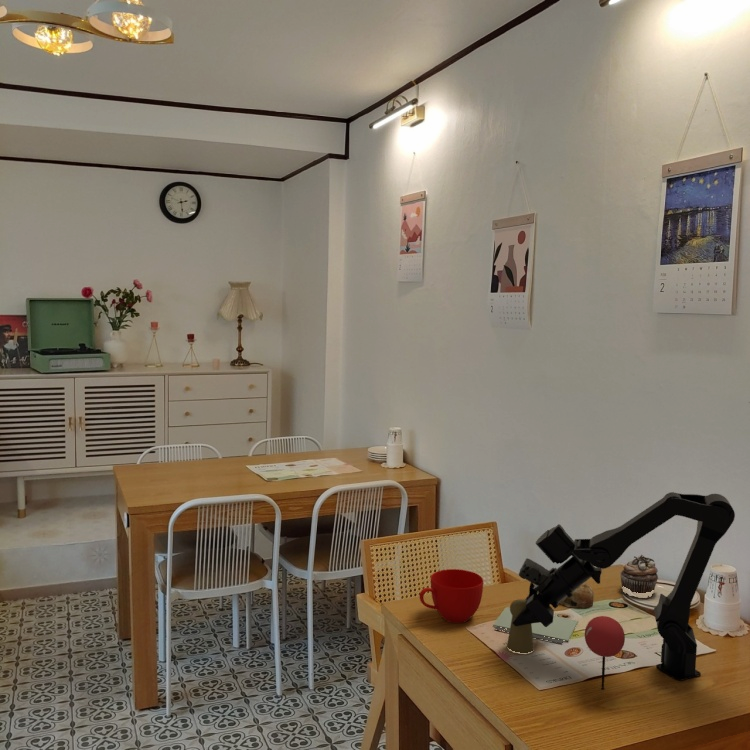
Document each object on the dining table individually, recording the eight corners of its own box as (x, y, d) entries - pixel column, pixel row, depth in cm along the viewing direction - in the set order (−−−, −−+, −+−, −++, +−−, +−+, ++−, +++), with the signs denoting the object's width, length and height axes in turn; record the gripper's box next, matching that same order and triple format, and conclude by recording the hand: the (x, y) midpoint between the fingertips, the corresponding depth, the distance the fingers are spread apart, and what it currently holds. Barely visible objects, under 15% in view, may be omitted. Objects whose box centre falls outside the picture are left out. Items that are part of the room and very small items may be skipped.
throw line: (563, 641, 173) (563, 640, 173) (562, 644, 172) (562, 643, 172) (496, 627, 180) (496, 626, 180) (494, 630, 179) (494, 629, 179)
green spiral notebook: (578, 622, 184) (578, 620, 184) (568, 642, 173) (568, 640, 173) (506, 608, 191) (506, 606, 191) (492, 626, 181) (492, 624, 181)
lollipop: (591, 675, 158) (595, 607, 156) (627, 688, 153) (631, 617, 151) (576, 689, 152) (579, 618, 150) (613, 703, 147) (616, 629, 145)
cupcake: (632, 583, 210) (633, 548, 209) (663, 594, 203) (665, 558, 202) (611, 591, 204) (613, 555, 203) (643, 602, 197) (645, 565, 196)
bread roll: (553, 616, 196) (553, 594, 192) (555, 587, 204) (556, 566, 200) (592, 621, 193) (593, 599, 189) (593, 592, 202) (594, 570, 198)
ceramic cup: (406, 615, 187) (407, 576, 186) (462, 603, 194) (464, 566, 193) (433, 636, 175) (434, 594, 174) (492, 622, 183) (494, 583, 182)
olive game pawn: (532, 643, 172) (534, 597, 171) (535, 655, 166) (537, 607, 165) (505, 641, 173) (507, 595, 172) (507, 653, 167) (509, 606, 166)
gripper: (544, 537, 175) (495, 577, 179) (538, 564, 157) (484, 608, 161) (578, 574, 174) (528, 613, 178) (575, 605, 156) (520, 648, 160)
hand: (515, 619), depth 169 cm, fingers closed on olive game pawn, 5 cm apart
